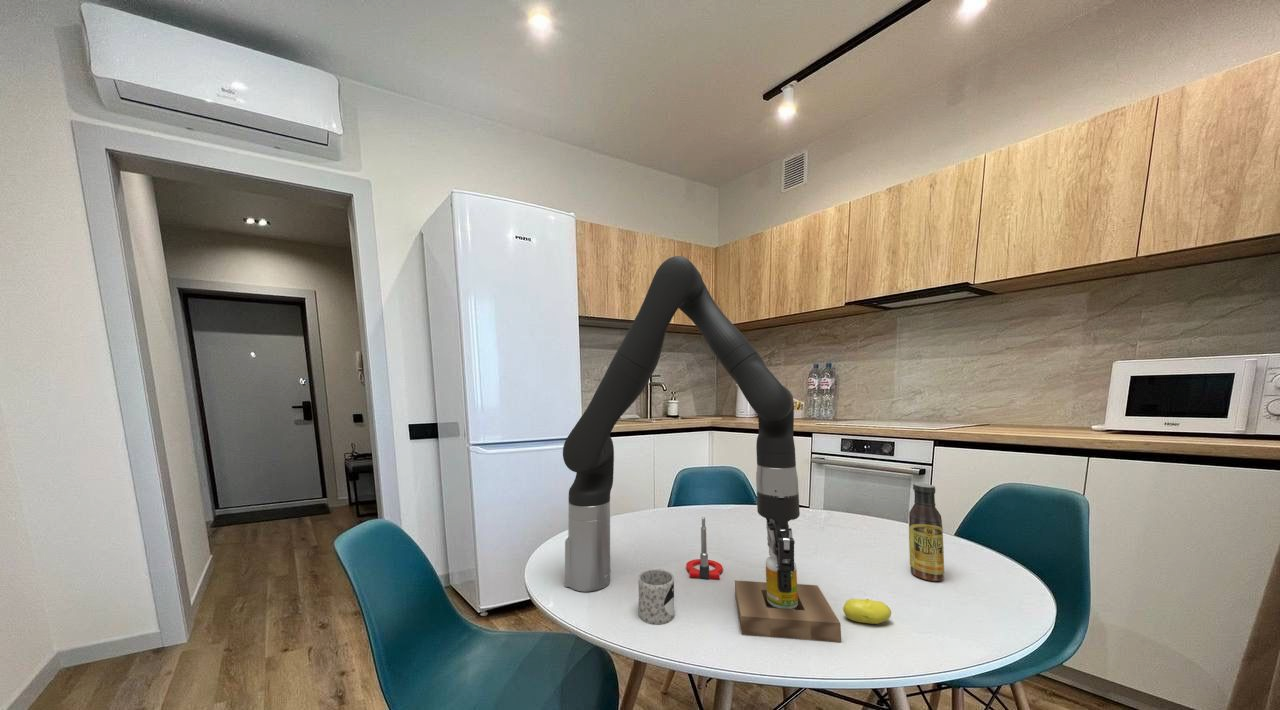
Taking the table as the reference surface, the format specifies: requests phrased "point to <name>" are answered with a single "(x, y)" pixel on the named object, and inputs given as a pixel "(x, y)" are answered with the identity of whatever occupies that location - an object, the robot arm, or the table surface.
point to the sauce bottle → (926, 535)
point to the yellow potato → (866, 611)
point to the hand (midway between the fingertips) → (781, 582)
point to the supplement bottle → (773, 593)
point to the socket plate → (786, 614)
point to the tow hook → (704, 561)
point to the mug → (656, 597)
